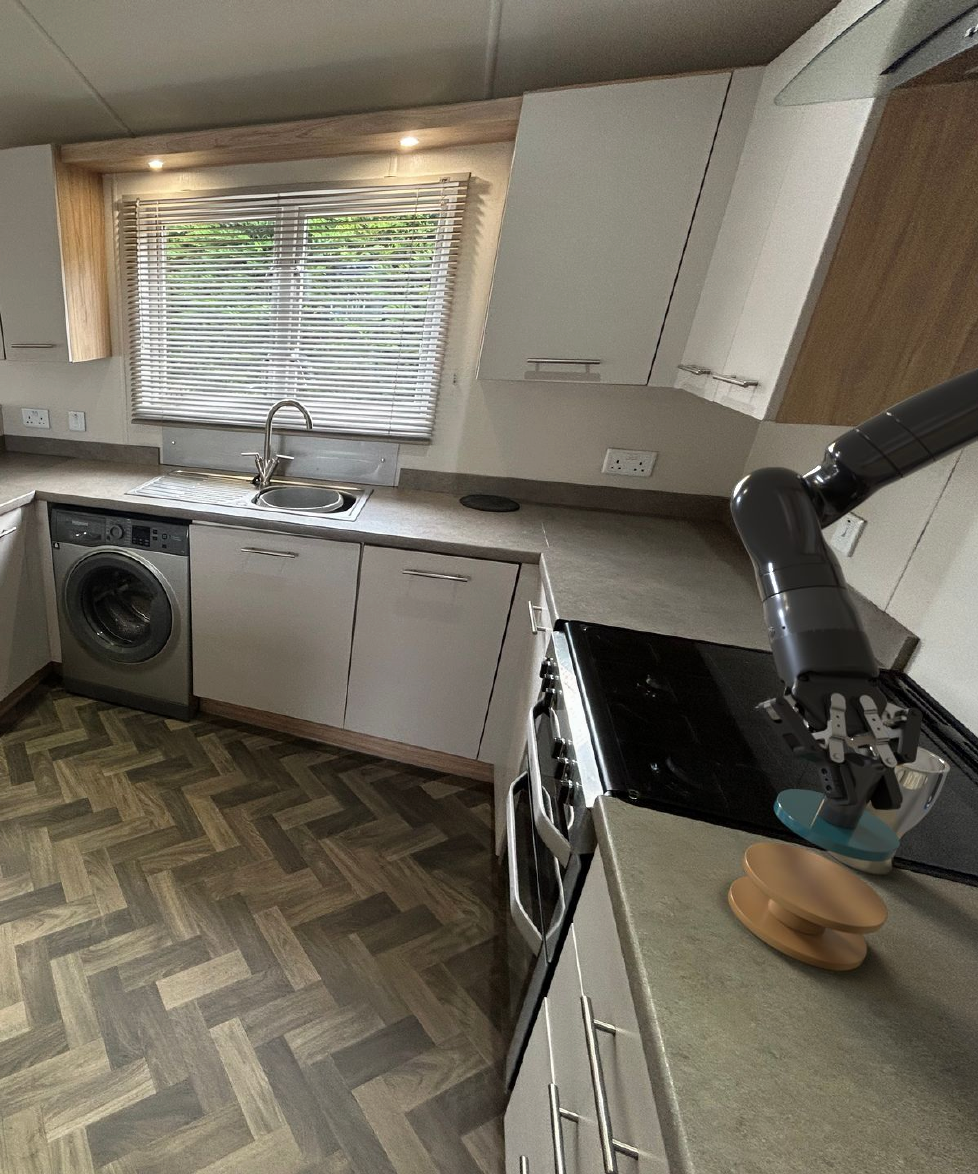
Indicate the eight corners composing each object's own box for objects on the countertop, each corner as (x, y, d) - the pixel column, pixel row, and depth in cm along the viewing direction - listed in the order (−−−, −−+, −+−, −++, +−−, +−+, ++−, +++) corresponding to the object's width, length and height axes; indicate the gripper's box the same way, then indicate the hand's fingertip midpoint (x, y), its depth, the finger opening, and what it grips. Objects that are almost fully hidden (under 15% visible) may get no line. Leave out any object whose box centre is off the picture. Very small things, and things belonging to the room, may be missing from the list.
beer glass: (809, 827, 81) (855, 729, 76) (883, 848, 78) (937, 748, 73) (825, 862, 76) (876, 760, 70) (905, 887, 72) (965, 781, 67)
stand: (809, 888, 72) (829, 848, 70) (894, 978, 62) (921, 933, 60) (705, 877, 74) (721, 837, 71) (772, 962, 63) (793, 919, 61)
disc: (844, 802, 67) (876, 738, 64) (922, 867, 59) (962, 797, 56) (752, 793, 68) (779, 730, 65) (816, 856, 60) (850, 786, 57)
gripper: (769, 620, 64) (817, 795, 58) (924, 630, 63) (992, 812, 56) (720, 644, 71) (757, 803, 65) (859, 653, 70) (912, 818, 63)
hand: (866, 806), depth 60 cm, fingers closed on disc, 3 cm apart
